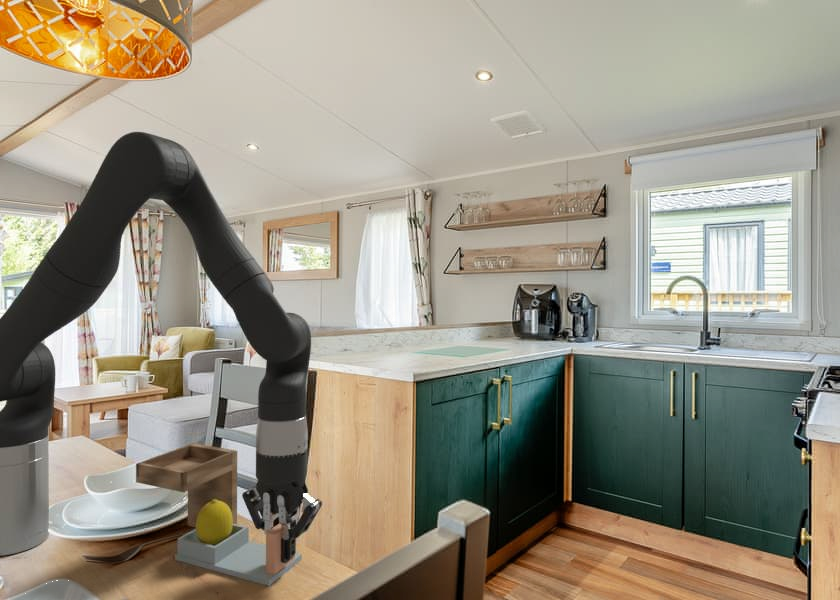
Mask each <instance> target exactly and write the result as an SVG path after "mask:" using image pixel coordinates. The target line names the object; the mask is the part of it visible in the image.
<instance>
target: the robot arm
mask: <svg viewBox="0 0 840 600" xmlns="http://www.w3.org/2000/svg"><path fill="white" fill-rule="evenodd" d="M149 200H158V201H163V203H165V204H166V205H167V206H168V207H169V208H171V210H173V212H174V213H175V214H176V215H177V216H178V217H179V218H180V220H181V222H183V223H184V225H185V227H186V228H187V229H188V230H187V231H189V234H190V236H191V239H192V241H193V243H194V247H195V250H196V253H197V257H198V260H199V262H200V265H201V267H202V269H203V271H204V273H205V274H206V276H207V278H208V280H210V282H211V284H213V286H214V287H215V289H216V290H217V291H218V294H220V296H221V297H222V298H223V299H224V301H225V302H226V303H227V304H228V306H229V307H230V308H231V309H232V311H233V313H234V315H235V317H236V320H237V323H238V325H239V327H240V329H241V330H242V333H243V335H244V336H245V339H246V340H247V342H248V344H249V345H250V346H251V348H252V349H253V350H254V352H255V353H257V354H258V355H259V356H260V357H261V358H262V359H263V360H265V361H266V365H265V374H264V376H263V378H262V380H261V382H259V386H258V392H257V424H256V432H255V477H256V480H257V481H256V484H255V486H253V487H251V488H249V489H248V490H246V491H244V492H242V494H241V497H242V499H243V501H244V505H245V506H246V509H247V511H248V513H249V515H250V517H251V520H252V522H253V525H254V527H255V529H256V530H260V529H261V530H263V531H264V534H265V535H266V532H268V531H269V530H271V529H272V528H274V527H275V526H277V525H278V524H279V523H280V524H281V527H282V539H281V562H282V563H287V562H288V561H290V560H291V559H292V558H293V556H295V553H297V552H296V548H297V546H296V545H297V539H298V538H300V536H301V535H303V534H304V533H305V532H308V530H309V528H310V526H311V525H312V523H313V522H314V519H315V517H316V516H317V514H318V513H319V511H320V509H322V506H323V502H322V500H321V499H319V498H317V499H314V498H313V497H311V495H309V490H308V487H307V484H306V478H307V475H308V448H309V447H308V443H309V441H308V438H309V437H308V436H309V435H308V433H309V432H308V431H309V430H308V423H307V422H308V421H307V377H308V371H309V367H310V358H311V351H312V333H311V329H310V326H309V324H308V322H307V320H306V319H305V318H304V317H302V316H301V315H299V314H297V313H294V312H287V311H285V309H284V308H283V306H282V305H281V303H280V302H279V300H278V299H277V297H276V296H275V295H274V285H273V283H272V281H271V280H270V278H269V276H268V275H267V274H266V272H265V271H264V270H263V268H262V267H261V266H260V265H259V263H258V262H257V261H256V259H255V258H254V257H253V255H252V253H251V252H249V250H248V249H247V247H246V245H245V244H244V243H243V241H242V240H241V239H240V238H239V236H238V234H237V233H236V232H235V230H234V228H233V226H232V225H231V224H230V223H229V221H228V219H227V217H226V216H225V214H224V212H223V211H222V209H221V208H220V206H219V204H218V202H217V200H216V199H215V197H214V195H213V193H212V191H211V189H210V188H209V186H208V183H207V182H206V179H205V177H204V176H203V173H202V171H201V170H200V168H199V166H198V165H197V163H196V161H195V159H194V158H193V156H192V154H191V153H190V152H189V150H187V148H185V147H184V146H183V145H181V144H180V143H178V142H176V141H174V140H173V139H172V140H171V139H168V138H164V137H162V136H158V135H155V134H152V133H149V132H144V131H132V132H127V133H126V134H124V135H123V136H120V138H118V139H117V140H116V141H115V142H114V143H113V145H112V146H111V147H110V149H109V151H107V153H106V156H105V157H104V159H103V160H102V163H101V164H100V166H99V169H98V170H97V172H96V174H95V177H94V178H93V180H92V182H91V185H90V186H89V187H88V190H87V192H86V194H85V196H84V197H83V199H82V201H81V203H80V204H79V206H78V207H77V208H76V210H75V212H74V213H73V215H72V216H71V218H70V219H69V221H68V222H67V224H66V225H65V227H64V229H62V232H61V233H60V234H59V236H58V237H57V239H56V240H55V241H54V243H53V244H52V245H51V247H50V248H49V249H48V251H47V252H46V254H44V257H43V258H42V259H41V261H40V262H39V264H38V265H37V266H36V269H35V270H34V271H33V273H32V275H31V276H30V278H29V280H28V281H27V283H25V285H24V287H23V288H22V289H21V291H20V292H19V293H18V294H17V296H16V297H15V299H14V300H13V301H12V303H11V304H10V305H9V307H8V309H6V310H5V312H4V314H2V316H1V317H0V403H1V402H5V401H6V403H5V404H4V407H3V408H2V409H1V410H0V557H1V556H7V555H8V556H9V555H12V554H17V553H21V552H24V551H26V550H29V549H33V548H35V547H37V546H38V545H41V544H42V543H44V542H45V541H46V540H48V538H49V535H50V531H49V532H48V529H49V530H50V507H49V506H50V485H49V484H50V483H49V480H50V479H49V477H50V474H49V471H50V470H49V468H50V467H49V465H50V464H49V463H50V461H49V460H50V459H49V455H50V454H49V427H50V424H51V422H52V419H53V417H54V412H55V411H54V409H55V408H54V407H55V389H56V365H55V364H56V363H55V359H54V356H53V354H52V352H51V350H50V349H49V347H48V346H47V345H46V344H44V343H43V341H45V340H46V339H47V338H49V337H51V336H52V335H53V334H55V333H56V332H57V331H59V330H61V329H63V328H64V327H65V326H67V325H69V324H70V323H72V322H73V321H75V320H76V319H78V318H79V317H81V316H82V315H83V314H84V313H86V312H88V310H89V309H91V307H93V306H94V305H95V304H96V302H97V301H98V300H99V299H100V298H101V296H102V295H103V293H104V292H105V291H106V290H107V288H108V287H109V285H110V284H111V282H112V281H113V279H114V277H115V276H116V274H117V272H118V270H119V265H120V260H121V249H122V248H121V247H122V246H121V245H122V237H123V235H124V232H125V230H126V228H128V227H127V226H128V225H129V223H130V222H131V220H132V219H133V218H134V217H135V216H136V214H137V213H138V211H140V209H141V208H142V207H143V205H144V204H146V203H147V202H148V201H149ZM301 504H302V507H301V511H300V506H301ZM300 512H301V513H302V514H301V513H300ZM300 514H301V515H300Z"/></svg>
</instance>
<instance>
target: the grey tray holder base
mask: <svg viewBox="0 0 840 600" xmlns="http://www.w3.org/2000/svg"><path fill="white" fill-rule="evenodd" d="M281 539H282V527H281V524H280V523H279V524H278V525H277V526H275V527H274V528H272V529H271V530H269V531H268V532H266V534H265V544H262V543H257V542H253V541H249V526H246V525H240V524H238V523H237V524H233V527H232V531H231V534H230V536H229V538H227V539H225V540H224V541H222V542H221V543H219V544H217V545H216V546H213V545H209V544H205V543H201V542H200V541H199V540H198V538H197V534H196V528H194V529H191V530H190V531H189V532H187V533H186V534H185V533H184V534H183V535H182V536H180V537H178V538H177V553H176V554H174V560H175V561H178V562H182V563H186V564H189V565H193V566H196V567H200V568H203V569H207V570H210V571H215V572H217V573H221V574H225V575H229V576H232V577H235V578H239V579H242V580H247V581H250V582H254V583H256V584H261V585H264V586H268V587H270V586H271V585H273V584H274V582H276V581H277V580H278V579H280V578H282V576H283V575H285V574H286V573H287V572H288V571H289V570H290V569H292V568H293V567H294V566H295V565H297V564H298V563H299V562H300V561H301V560H302V556H303V555H302V553H298V552H296V553H295V556H293V558H292V559H291V560H290V561H288V562H287V563H282V562H281Z"/></svg>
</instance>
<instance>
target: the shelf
mask: <svg viewBox="0 0 840 600" xmlns="http://www.w3.org/2000/svg"><path fill="white" fill-rule="evenodd" d="M135 483H138V484H142V485H148V486H153V487H157V488H160V489H167V490H170V491H176V492H179V493H185V492H187V526H188V527H193V528H196V520H197V517H198V514H199V512H200V510H201V509H202V507H203V506H205V505H206V504H207V503H209V502H211V501H212V500H214V499H217V500H218V501H222V502H224V503H226V504H227V505H228V506H229V508H230V510H231V513H232V517H233V524H237V525H238V450H235V449H230V448H229V449H228V448H223V447H218V446H211V445H204V444H200V443H190V444H188V445H185V446H182V447H179V448H176V449H173V450H170V451H168V452H165V453H163V454H162V453H161V454H159V455H156V456H154V457H151V458H148V459H145V460H142V461H140V462H136V464H135Z"/></svg>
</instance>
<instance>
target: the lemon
mask: <svg viewBox="0 0 840 600" xmlns="http://www.w3.org/2000/svg"><path fill="white" fill-rule="evenodd" d="M232 527H233V517H232V513H231V510H230V508H229V506H228V505H227V504H226V503H224V502H222V501H218V500H217V499H214V500H212V501H211V502H209V503H207V504H206V505H205V506H203V507H202V509H201V510H200V512H199V514H198V517H197V520H196V527H195V529H196V534H197V538H198V540H199V541H200V542H201V543H205V544H209V545H213V546H216V545H217V544H219V543H221V542H222V541H224V540H225V539H227V538H229V536H230V534H231V531H232Z"/></svg>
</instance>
